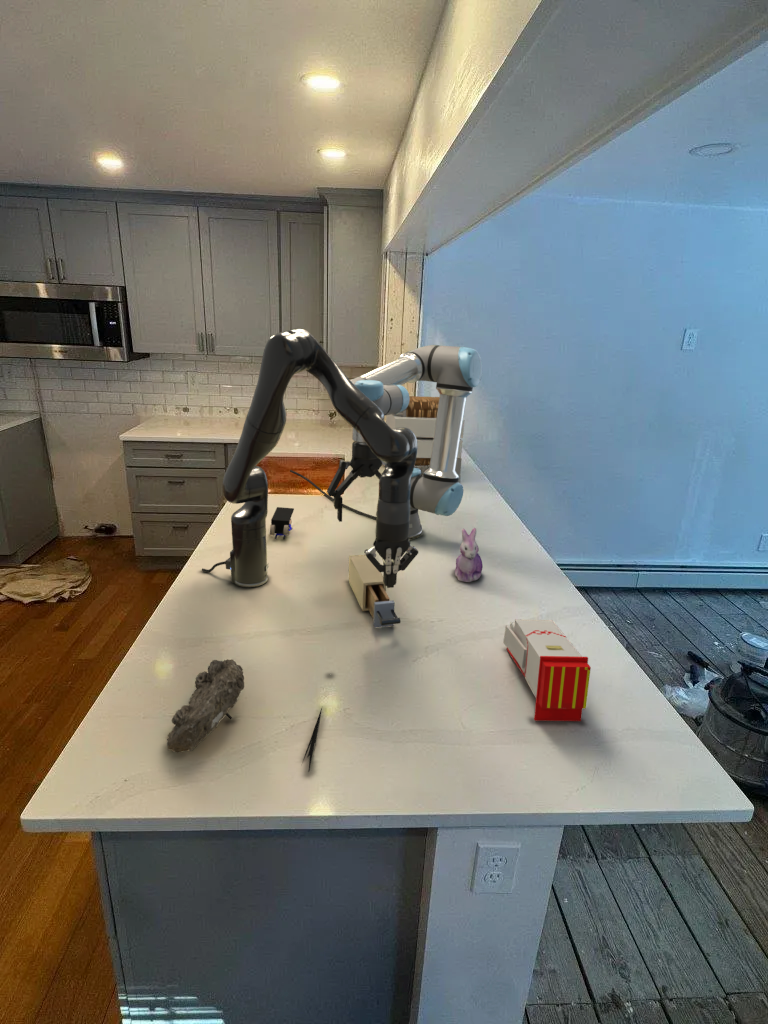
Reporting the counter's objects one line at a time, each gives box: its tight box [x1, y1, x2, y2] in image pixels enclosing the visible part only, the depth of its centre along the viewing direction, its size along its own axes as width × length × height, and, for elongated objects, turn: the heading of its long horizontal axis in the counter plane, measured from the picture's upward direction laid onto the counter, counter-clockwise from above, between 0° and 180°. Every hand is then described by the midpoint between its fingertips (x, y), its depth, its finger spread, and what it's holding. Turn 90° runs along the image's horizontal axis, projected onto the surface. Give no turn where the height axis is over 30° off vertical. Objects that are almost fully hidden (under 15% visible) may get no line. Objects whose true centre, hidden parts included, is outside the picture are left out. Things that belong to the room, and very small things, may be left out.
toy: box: [503, 618, 592, 722], centre depth 122 cm, size 12×13×30 cm
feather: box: [301, 673, 332, 771], centre depth 108 cm, size 2×28×2 cm
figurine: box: [454, 527, 484, 583], centre depth 168 cm, size 9×10×15 cm
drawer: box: [365, 584, 401, 629], centre depth 143 cm, size 22×5×6 cm, turn 16°
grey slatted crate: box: [385, 395, 465, 483], centre depth 268 cm, size 34×33×41 cm
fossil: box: [166, 658, 245, 754], centre depth 106 cm, size 22×10×15 cm
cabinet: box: [348, 554, 387, 612], centre depth 155 cm, size 17×6×8 cm, turn 16°
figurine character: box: [269, 506, 295, 540], centre depth 194 cm, size 7×8×15 cm
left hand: (389, 586), depth 133 cm, fingers closed
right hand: (364, 518), depth 154 cm, fingers open, 13 cm apart
